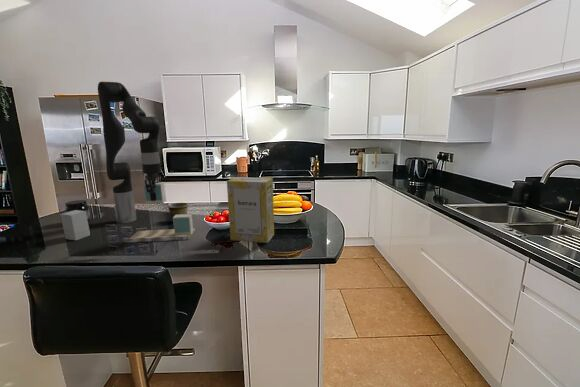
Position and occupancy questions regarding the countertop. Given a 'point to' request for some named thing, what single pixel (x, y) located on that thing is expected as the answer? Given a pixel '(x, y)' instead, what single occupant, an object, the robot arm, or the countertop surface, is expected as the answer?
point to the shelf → (156, 236)
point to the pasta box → (251, 209)
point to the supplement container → (78, 207)
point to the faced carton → (183, 224)
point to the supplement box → (75, 225)
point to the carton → (159, 194)
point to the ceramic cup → (178, 209)
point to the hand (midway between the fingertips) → (155, 199)
